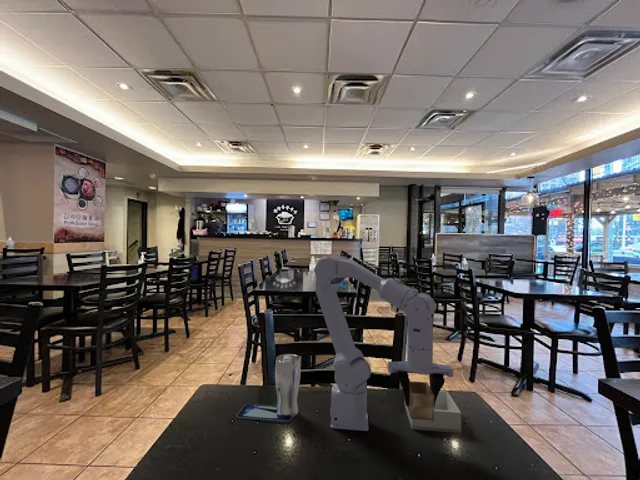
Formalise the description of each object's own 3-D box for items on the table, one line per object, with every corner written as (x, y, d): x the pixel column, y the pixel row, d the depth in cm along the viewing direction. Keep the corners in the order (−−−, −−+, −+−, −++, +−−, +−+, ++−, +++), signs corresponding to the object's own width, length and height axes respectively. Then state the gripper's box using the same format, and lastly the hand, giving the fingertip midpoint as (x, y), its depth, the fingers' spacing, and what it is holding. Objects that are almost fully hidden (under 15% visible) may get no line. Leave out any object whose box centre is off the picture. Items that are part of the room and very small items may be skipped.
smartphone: (245, 403, 90) (296, 407, 88) (245, 407, 90) (296, 410, 88) (234, 417, 83) (289, 421, 81) (234, 420, 83) (289, 425, 81)
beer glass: (295, 421, 82) (296, 363, 83) (270, 417, 84) (271, 361, 84) (302, 408, 89) (303, 354, 89) (279, 405, 90) (280, 352, 91)
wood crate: (410, 418, 70) (410, 393, 70) (406, 403, 77) (406, 380, 77) (434, 420, 69) (434, 395, 69) (427, 405, 76) (427, 382, 76)
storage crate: (411, 429, 79) (411, 409, 80) (404, 405, 91) (404, 388, 92) (461, 433, 78) (461, 412, 78) (447, 408, 90) (447, 391, 90)
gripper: (390, 349, 70) (389, 411, 70) (457, 353, 68) (457, 416, 68) (387, 340, 77) (386, 396, 77) (448, 344, 75) (448, 401, 75)
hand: (419, 405), depth 73 cm, fingers closed on wood crate, 5 cm apart
